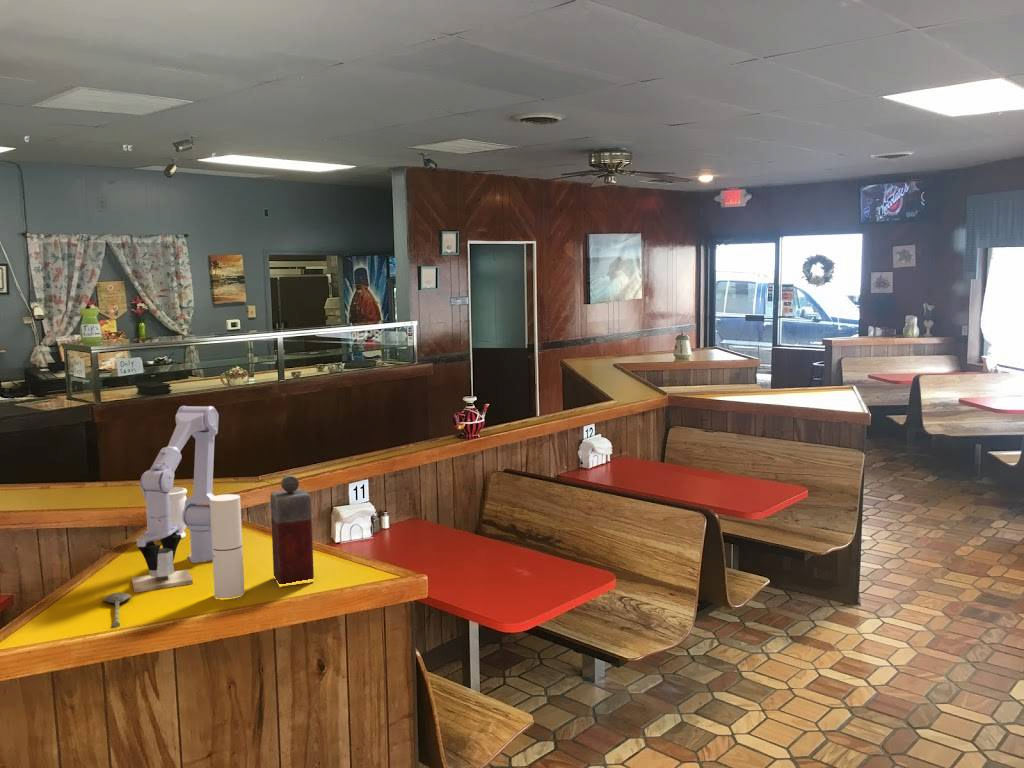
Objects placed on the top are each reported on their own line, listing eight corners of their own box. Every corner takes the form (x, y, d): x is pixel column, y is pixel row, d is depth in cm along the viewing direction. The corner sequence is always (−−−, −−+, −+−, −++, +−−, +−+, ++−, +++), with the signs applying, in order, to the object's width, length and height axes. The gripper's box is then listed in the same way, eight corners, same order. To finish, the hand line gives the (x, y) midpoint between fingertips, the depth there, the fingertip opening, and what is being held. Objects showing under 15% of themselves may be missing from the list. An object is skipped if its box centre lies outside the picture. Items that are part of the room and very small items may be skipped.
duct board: (187, 573, 235) (187, 555, 234) (192, 583, 226) (191, 565, 225) (131, 581, 228) (130, 562, 228) (134, 592, 219) (133, 573, 219)
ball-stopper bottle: (305, 570, 236) (301, 469, 233) (314, 582, 226) (310, 477, 223) (272, 575, 232) (267, 472, 229) (279, 587, 222) (274, 480, 219)
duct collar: (160, 569, 230) (158, 547, 230) (178, 570, 229) (177, 548, 228) (144, 575, 225) (143, 553, 224) (163, 577, 223) (162, 555, 223)
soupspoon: (132, 599, 218) (104, 604, 216) (131, 586, 218) (102, 591, 215) (131, 626, 198) (99, 632, 195) (129, 611, 198) (98, 617, 195)
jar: (196, 536, 272) (194, 489, 270) (168, 544, 263) (165, 495, 261) (175, 531, 277) (172, 485, 276) (146, 539, 269) (143, 491, 267)
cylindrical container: (227, 602, 212) (222, 502, 209) (208, 597, 215) (203, 498, 213) (250, 593, 218) (246, 496, 215) (231, 588, 222) (226, 493, 219)
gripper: (164, 507, 233) (167, 556, 235) (125, 521, 220) (128, 573, 221) (186, 509, 231) (189, 559, 233) (148, 523, 217) (151, 575, 219)
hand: (161, 566), depth 227 cm, fingers closed on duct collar, 6 cm apart
